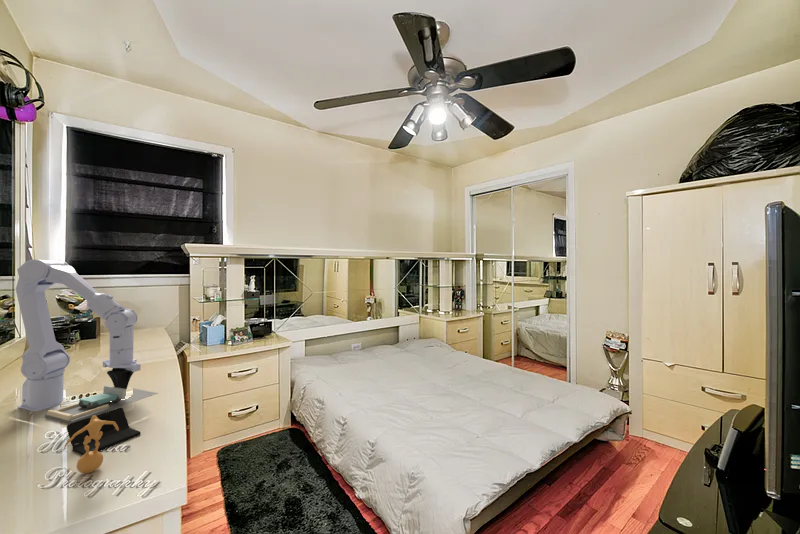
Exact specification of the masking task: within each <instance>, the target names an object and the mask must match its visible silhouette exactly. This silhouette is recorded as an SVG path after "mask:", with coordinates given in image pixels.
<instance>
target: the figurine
mask: <svg viewBox="0 0 800 534" xmlns="http://www.w3.org/2000/svg"><path fill="white" fill-rule="evenodd" d="M104 424H113V425H114V427H116V428H115V429H116V430H117V431H119V427H118V426H117V424H116V422H114V421H105V420H100V419H98V418H97V416H96V415H94V416H92V417H91V420H90V423H89V424H88V425H87V426H85V427H84V428H83V429H81V430H79V431H78V432H76V433H75V434H74V435H73V436H72V437H71V438H69V439H68V440H67V441H66V442H65V444H64V449H66V448H67V446H68V444H70V443H71V441H72V440H73V439H74V437H75V436H76V435H78V434H80V433H82V432H83V431H85V430H88V432H89V434H90V436H86V437H85V441H84V442H83V444H84V446H85V448H84V449H85V450H86V453H85V454H84V455H83V456H82V455H81V457H80V458H79V459H78V460H77V463H76V470H77V472H79V473H81V474H91V473H92V472H95V471H96V470H98V469H99V468H100V467H101V465H103V464H102V463H103V462H104V455H103V453H102V452H101V451H99V452H98V446H99V445H100V443H99V442H98V440H99V439H100V438H101V436H102V434H103V432H102V431H100V429H101V427H102V426H103V425H104ZM99 431H100V432H99ZM91 439H94V440H96V443H95V446H96V448H95V450H94V451H91V452H89V446H88V445H87V444H88V443H89V442H91Z"/></svg>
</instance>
